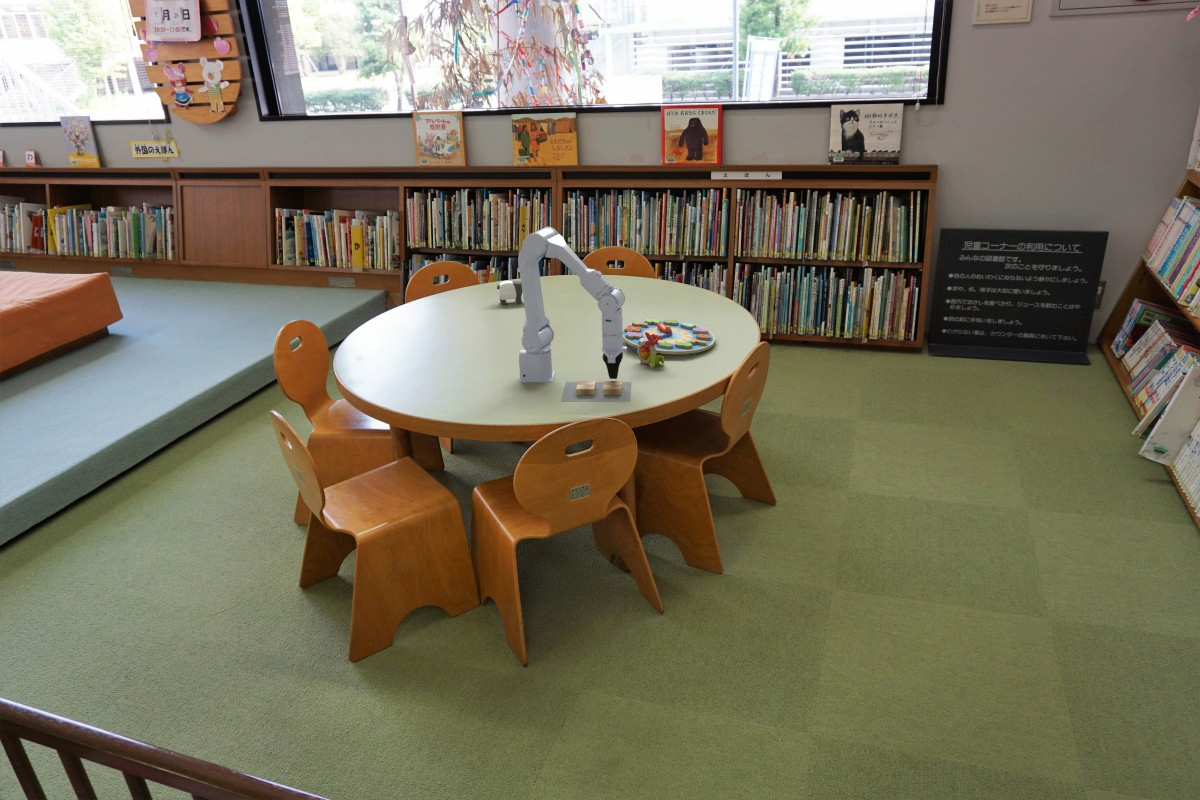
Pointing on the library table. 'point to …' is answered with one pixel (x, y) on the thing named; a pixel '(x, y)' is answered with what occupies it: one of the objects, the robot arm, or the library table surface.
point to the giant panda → (510, 291)
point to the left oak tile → (586, 388)
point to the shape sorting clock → (670, 336)
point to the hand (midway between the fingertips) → (613, 378)
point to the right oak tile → (612, 388)
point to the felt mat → (570, 393)
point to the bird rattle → (649, 350)
